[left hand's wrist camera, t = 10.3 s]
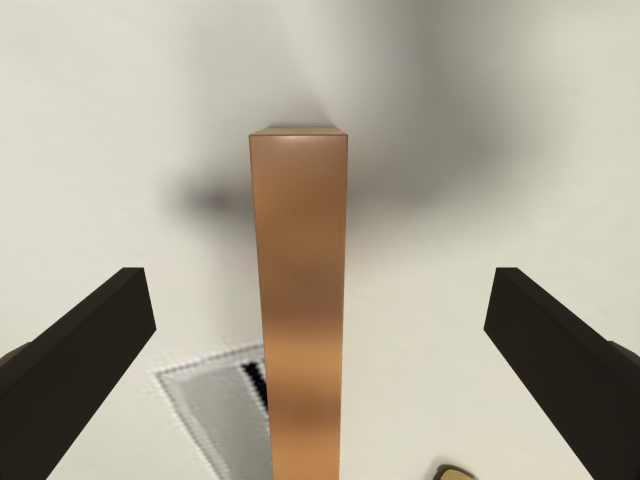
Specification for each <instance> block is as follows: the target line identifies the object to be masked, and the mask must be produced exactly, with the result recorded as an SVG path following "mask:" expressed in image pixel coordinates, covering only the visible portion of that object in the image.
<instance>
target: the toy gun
mask: <svg viewBox="0 0 640 480" xmlns="http://www.w3.org/2000/svg"><path fill="white" fill-rule="evenodd" d="M440 480H474V479H472V478H471V477H469V476H467V475H466V474H464V473H462V472H459V471H456V470H451V469H449V470H447V471H446V472H445V473H444V474H443V475H442V477H441V479H440Z"/></svg>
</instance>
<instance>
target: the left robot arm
mask: <svg viewBox="0 0 640 480" xmlns="http://www.w3.org/2000/svg"><path fill="white" fill-rule="evenodd" d="M155 331H156V325H155V320H154V315H153V310H152V305H151V301H150V296H149V291H148V286H147V281H146V277H145V272H144V268H122V269H121V270H119V271H118V272H117V273H116V274H114V275H113V276H112V277H111V278H110V279H108V280H107V281H106V282H105V283H103V284H102V285H101V286H100V287H98V288H97V289H96V290H95V291H93V292H92V293H91V294H90V295H89V296H87V297H86V298H85V299H84V300H82V301H81V302H80V303H79V304H77V305H76V306H75V307H74V308H73V309H71V310H70V311H69V312H68V313H66V314H65V315H64V316H63V317H61V318H60V319H59V320H58V321H57V322H55V323H54V324H53V325H52V326H50V327H49V328H48V329H47V330H45V331H44V332H43V333H42V334H41V335H39V336H38V337H37V338H36V339H34V340H33V341H32V342H28V343H26V344H24V345H22V346H20V347H19V348H17V349H15V350H13V351H11V352H9V353H7V354H6V355H4V356H3V357H2V358H1V359H0V480H46V479H47V477H48V476H49V475H50V473H51V472H52V471H53V469H54V468H55V467H56V465H57V464H58V463H59V461H60V460H61V458H62V457H63V456H64V454H65V453H66V452H67V450H68V449H69V448H70V446H71V445H72V444H73V442H74V441H75V439H76V438H77V437H78V435H79V434H80V433H81V431H82V430H83V429H84V427H85V426H86V425H87V423H88V422H89V420H90V419H91V418H92V416H93V415H94V414H95V412H96V411H97V410H98V408H99V407H100V406H101V404H102V403H103V401H104V400H105V399H106V397H107V396H108V395H109V393H110V392H111V391H112V389H113V388H114V387H115V385H116V384H117V382H118V381H119V380H120V378H121V377H122V376H123V374H124V373H125V372H126V370H127V369H128V368H129V366H130V365H131V363H132V362H133V361H134V359H135V358H136V357H137V355H138V354H139V353H140V351H141V350H142V349H143V347H144V346H145V344H146V343H147V342H148V340H149V339H150V338H151V336H152V335H153V334H154V332H155ZM484 331H485V332H486V334H487V335H488V336H489V338H490V339H491V340H492V342H493V343H494V344H495V346H496V347H497V349H498V350H499V351H500V353H501V354H502V355H503V357H504V358H505V359H506V361H507V362H508V363H509V365H510V366H511V368H512V369H513V370H514V372H515V373H516V374H517V376H518V377H519V378H520V380H521V381H522V382H523V384H524V385H525V387H526V388H527V389H528V391H529V392H530V393H531V395H532V396H533V397H534V399H535V400H536V401H537V403H538V404H539V406H540V407H541V408H542V410H543V411H544V412H545V414H546V415H547V416H548V418H549V419H550V420H551V422H552V423H553V425H554V426H555V427H556V429H557V430H558V431H559V433H560V434H561V435H562V437H563V438H564V439H565V441H566V442H567V444H568V445H569V446H570V448H571V449H572V450H573V452H574V453H575V454H576V456H577V457H578V458H579V460H580V461H581V463H582V464H583V465H584V467H585V468H586V469H587V471H588V472H589V473H590V475H591V476H592V477H593V479H594V480H640V357H639V356H638V355H636V354H635V353H634V352H632V351H630V350H628V349H626V348H624V347H622V346H620V345H619V344H617V343H615V342H613V341H607V340H606V339H604V338H603V337H602V336H601V335H599V334H598V333H597V332H596V331H595V330H593V329H592V328H591V327H590V326H588V325H587V324H586V323H585V322H583V321H582V320H581V319H580V318H579V317H577V316H576V315H575V314H574V313H572V312H571V311H570V310H569V309H567V308H566V307H565V306H564V305H563V304H561V303H560V302H559V301H558V300H556V299H555V298H554V297H553V296H551V295H550V294H549V293H548V292H547V291H545V290H544V289H543V288H542V287H540V286H539V285H538V284H537V283H535V282H534V281H533V280H532V279H530V278H529V277H528V276H527V275H526V274H524V273H523V272H522V271H521V270H519V269H518V268H496V272H495V277H494V281H493V286H492V291H491V296H490V301H489V305H488V310H487V315H486V320H485V325H484Z"/></svg>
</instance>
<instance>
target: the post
mask: <svg viewBox="0 0 640 480" xmlns="http://www.w3.org/2000/svg"><path fill="white" fill-rule="evenodd" d="M249 147H250V161H251V175H252V189H253V202H254V216H255V230H256V244H257V258H258V272H259V286H260V300H261V313H262V327H263V341H264V355H265V369H266V383H267V397H268V411H269V425H270V438H271V452H272V466H273V480H339V455H340V417H341V380H342V343H343V305H344V268H345V231H346V193H347V156H348V135H347V134H346V133H344V132H342V131H341V130H339V129H337V128H336V127H268V128H266V129H263V130H261V131H258V132H255V133H253V134H250V135H249Z"/></svg>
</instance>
